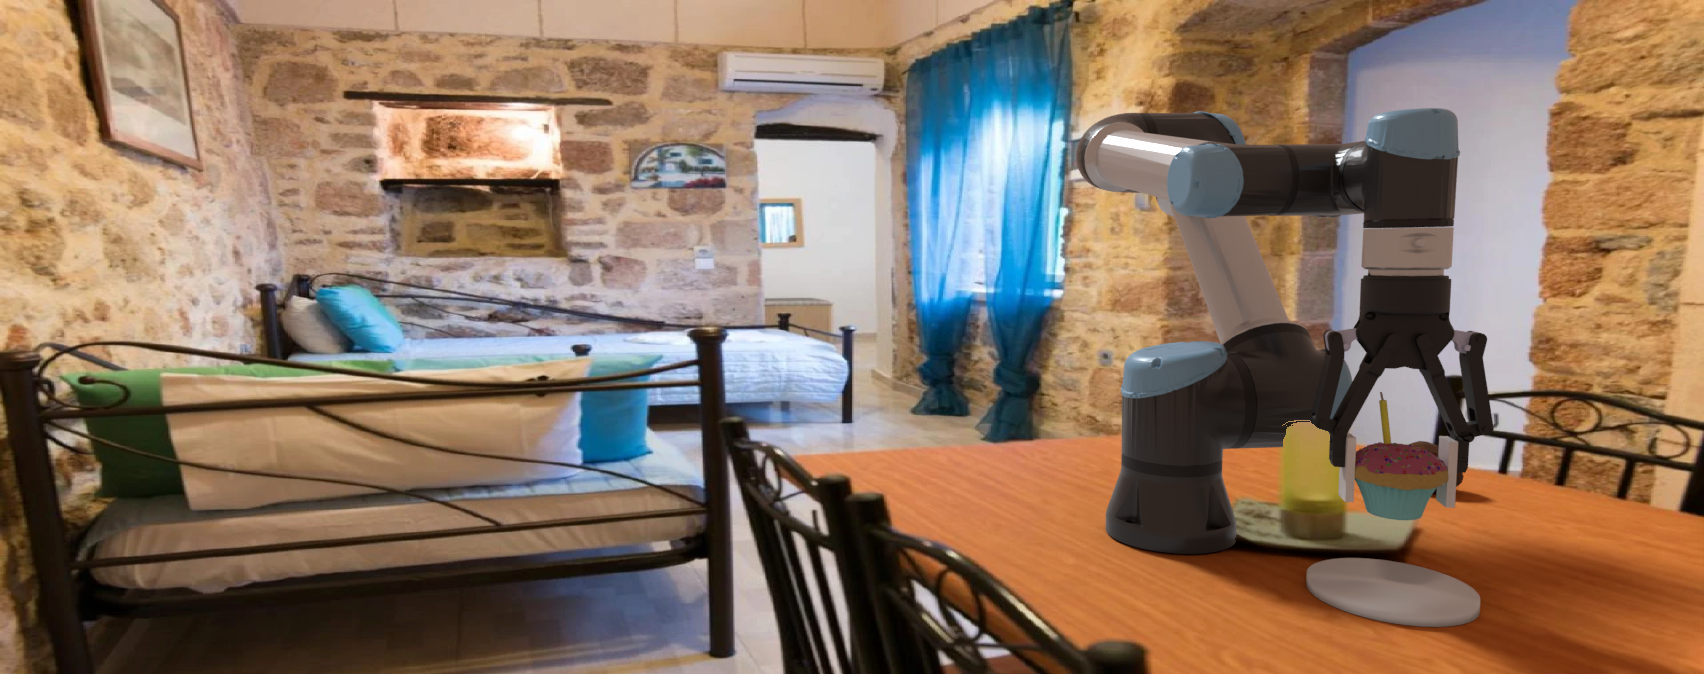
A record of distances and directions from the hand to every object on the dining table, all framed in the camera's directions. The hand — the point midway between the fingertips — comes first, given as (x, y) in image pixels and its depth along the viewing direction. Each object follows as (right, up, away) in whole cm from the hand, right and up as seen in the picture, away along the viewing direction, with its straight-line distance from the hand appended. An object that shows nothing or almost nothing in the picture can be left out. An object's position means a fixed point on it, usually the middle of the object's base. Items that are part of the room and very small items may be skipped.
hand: (1394, 500), depth 90 cm
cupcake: (0, -1, 0) cm, 1 cm away
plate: (0, -10, +1) cm, 10 cm away
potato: (+27, -6, +39) cm, 48 cm away
